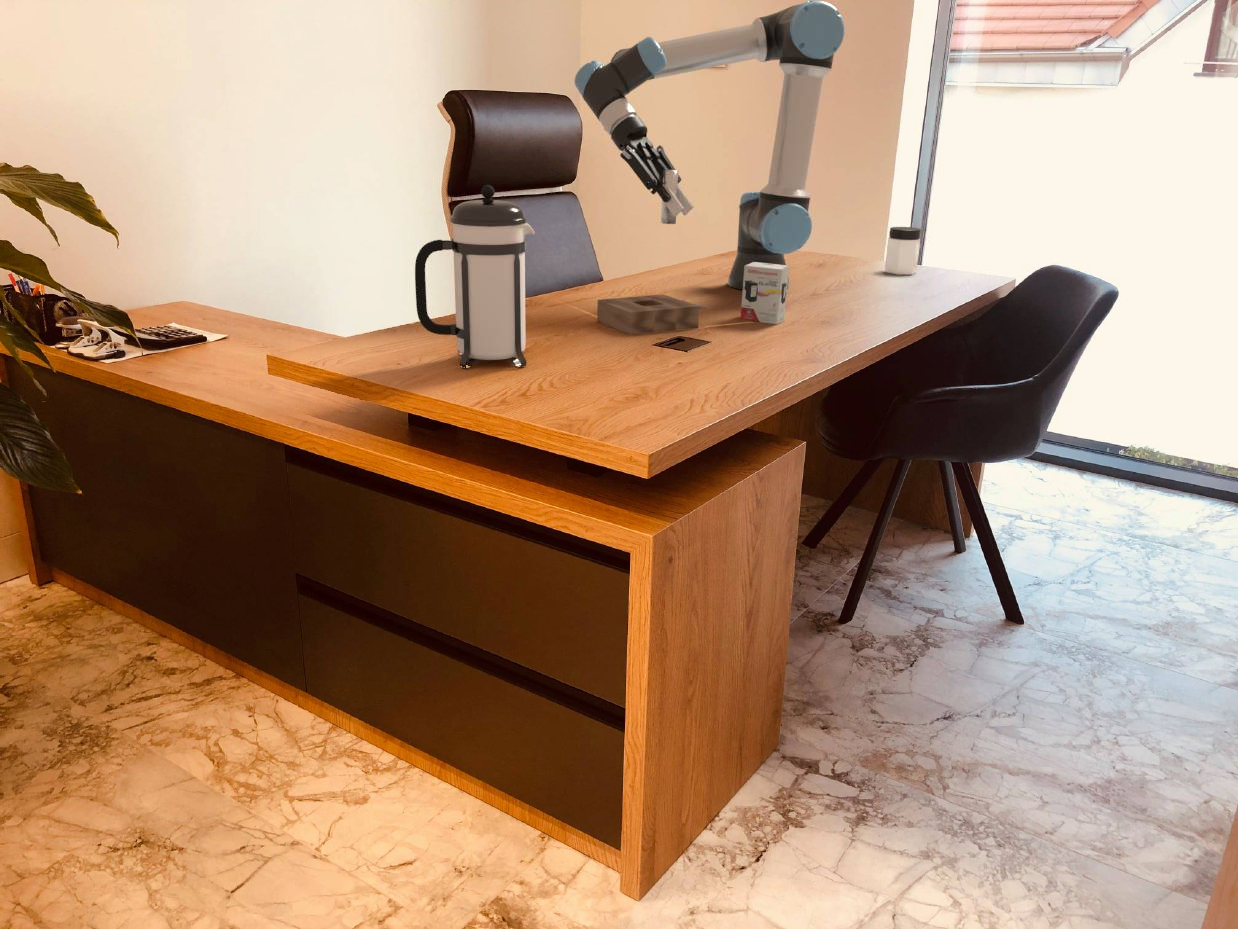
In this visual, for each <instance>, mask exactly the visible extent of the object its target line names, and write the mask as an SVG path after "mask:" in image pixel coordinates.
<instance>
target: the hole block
mask: <svg viewBox="0 0 1238 929" xmlns="http://www.w3.org/2000/svg"><path fill="white" fill-rule="evenodd" d="M685 301H686V300H683V301H682V300H681V299H679V298H676V297H672V296H671V295H670V296H669V295H667V294H663V293H662V294H652V295H641V296H639V295H638V296H628V297H617V298H616V297H615V298H604V299H597V311H596V312H597V313H596V314H597V315H596V317H597V318H596V319H597V320H596V321H597V322H598V323H601V324H603V325H605V326H607V327H610V328H612V329H616V330H618V331H620V332H622V333H625V334H627V335H629V336H631V335H632V336H633V335H643V334H644V335H645V334H654V333H662V332H671V331H672V332H673V331H674V332H675V331H683V330H684V331H685V330H691V329H692V330H693V329H698V328H699V317H700V316H699V315H700V309H699V306H700V305H698V304H695V303H692V302H689V301H686V302H685ZM688 302H689V303H688ZM691 303H692V304H691ZM694 304H695V305H694ZM697 305H698V306H697Z"/></svg>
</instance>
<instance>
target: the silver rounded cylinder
mask: <svg viewBox="0 0 1238 929" xmlns="http://www.w3.org/2000/svg"><path fill="white" fill-rule="evenodd" d="M678 174H679V170H677V169H675V170H663V183H664V184H663V186H664V185H665V184H668V186H669V187H670V189H671V190H672V192H673V193H674V194H675V196H676V197H677V189H678V185H679V183H678ZM660 212H661V213H660V214H661V216H660V223H661V224H664V225H675V224H676V223H677V216H676V217H674V216H673V214H672V213H671V212H670V210H669V209H668V207H667V206H666V204H665V203H664V202H663V200H662V199H661V211H660Z"/></svg>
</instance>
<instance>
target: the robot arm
mask: <svg viewBox="0 0 1238 929" xmlns="http://www.w3.org/2000/svg"><path fill="white" fill-rule="evenodd" d="M845 31H846V30H845V22H844V19H843V17H842V14H841V13H840V11H839V10H838V9H837V8H836V7H835V6H834V5H832V4H830V3H829V2H827V1H823V0H808V1H805V2H802V3H800V4H795V5H791V6H789V7H787V8H785V9H782V10H780V11H777V12H775V13H774V12H773V13H771V14H768V15H765V16H760V17H756V18H754V20H753V21H752V23H749V24H744V25H739V26H735V27H730V28H729V27H728V28H724V29H718V30H714V31H710V32H705V33H700V34H695V35H689V36H685V37H679V38H673V39H670V40H669V39H668V40H664V41H660V42H657V40H655V38H653V37H651V36H647V37H645V38H643V39H642V40H639V41H638V42H636V43H635V44H634V45H633V46H632V47H628V48H622V49H620V50H617V51H616V52H615V53H614V55H612V57H611V59H610V62H608V63H607V64H603V63H602V62H601V61H599V60H592V61H590V62H587V63H585V64H583V65H582V66H581V67H580V68H579V69H578V71H577V73H576V74H575V76H574V86H575V87H576V88H577V91H578V92H579V94H580V95H581V97H582V99H583V101H584V102H585V103H586V104H587V106H588V107H589V109H590V110H591V112H592V114H594V116H596V119H597V120H598V121H599V123H600V124H601V126H602V127H603V129H604V131H605V132H607V134H608V135H609V136H610V138H611V139H610V140H612V142H613V144H614V145H615V146H616V148H617V149H618V150H619V151H621V153H620V155H619V156H620V157H621V158H622V159H623V161H624V162H626V163H627V164H628V166H629V168H630V169H631V170H632V172H633V173H635V175H636V176H637V178H638V179H639V181H641V183H642V184H643V186H644V187H645V188H646V189H647V190H648V191H650V190H651V191H650V193H651V194H652V195H655V194H656V193H657V195H658V196H659V197H660V199H661V201H662V200H663V202H664V203H665V204H666V206H667V207H668V209H669V210H670V212H671V213H672V214H673V216H674V217H676V218H677V216H678V215H679V214H680V213H682V214H683V216H687V214H688V213H690V212H691V211H692V210H693V209H694V207H695V206H694V205H693V203H692V202H691V200H689V198H688V196H687V194H686V193H685V192H684V190H682V187H681V186H680V184H679V183H680V182H681V181H682V178H681V176H680V175H679V173H678V189H677V197H676V196H675V194H674V193H673V192H672V190H671V189H670V187H669V186H668V184H665V185H664V186H663V184H664V183H663V170H676V167H674V165H673V163H672V162H671V160H670V159H669V157H668V155H667V154H666V152H665V149H664V147H663V146H662V145H658V146H657V147H656V146H654V144H653V143H652V142H651V141H650V139H648V137H647V133H648V128H647V125H645V123H644V121H643V120H642V119H641V117H640V116H638V113H637V111H636V110H635V108H634V107H633V105H632V104H631V103H630V102H629V100H628V98H627V97H626V96H627V95H628V94H630V93H631V92H632V91H634V90H636V89H637V88H639V87H640V86H641V85H643V84H644V83H646V82H647V81H651V80H655V79H659V78H665V77H669V76H670V77H671V76H676V75H680V74H685V73H686V74H687V73H692V72H694V71H695V72H696V71H701V70H705V69H710V68H716V67H721V66H726V65H730V64H736V63H740V62H741V63H742V62H746V61H751V60H752V61H753V60H757V61H759V62H760V63H765V62H770V61H779V62H778V65H779V67H780V68H781V70H782V71H783V74H784V76H783V83H782V89H781V95H780V101H779V110H778V114H777V115H778V116H777V123H776V128H775V135H774V141H773V150H772V155H771V162H770V169H769V176H768V182H767V184H766V185H765V186H764V187H763V188H761V189H760V191H749V192H745V193H743V194H742V195H741V197H740V203H739V204H738V205H739V206H738V210H739V214H738V232H737V247H736V248H737V249H736V250H737V251H736V256H735V260H734V261H733V265H732V268H731V270H730V272H729V275H728V281H727V282H728V284H727V285H728V287H730V288H734V289H738V290H743V278H744V266H745V265H747V264H750V263H752V262H759V263H768V264H778V265H786V266H787V264H786V260H785V255H788V254H792V253H795V252H797V251H798V250H800V249H802V248H803V247H804V246H805V245H806V243H807V242H808V241H809V239H810V236H811V234H812V230H813V222H812V218H811V216H810V213H809V208H810V202H811V195H810V193H809V192H808V191H807V189H806V185H807V178H808V174H809V173H808V172H809V167H810V166H809V165H810V162H811V161H810V159H811V153H812V148H813V142H814V135H815V131H816V130H815V129H816V123H817V116H818V112H819V105H820V104H819V103H820V99H821V93H822V85H823V80H824V78H825V77H826V75H828V74H829V73H830V72H831V71H832V69H833V68H832V67H833V62H834V56H835V53H836V52H837V51H838V49H839V48H840V47H841V45H842V43H843V40H844V37H845ZM789 285H790V278H789V276H788V283H787V289H788V288H790V286H789Z"/></svg>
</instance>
